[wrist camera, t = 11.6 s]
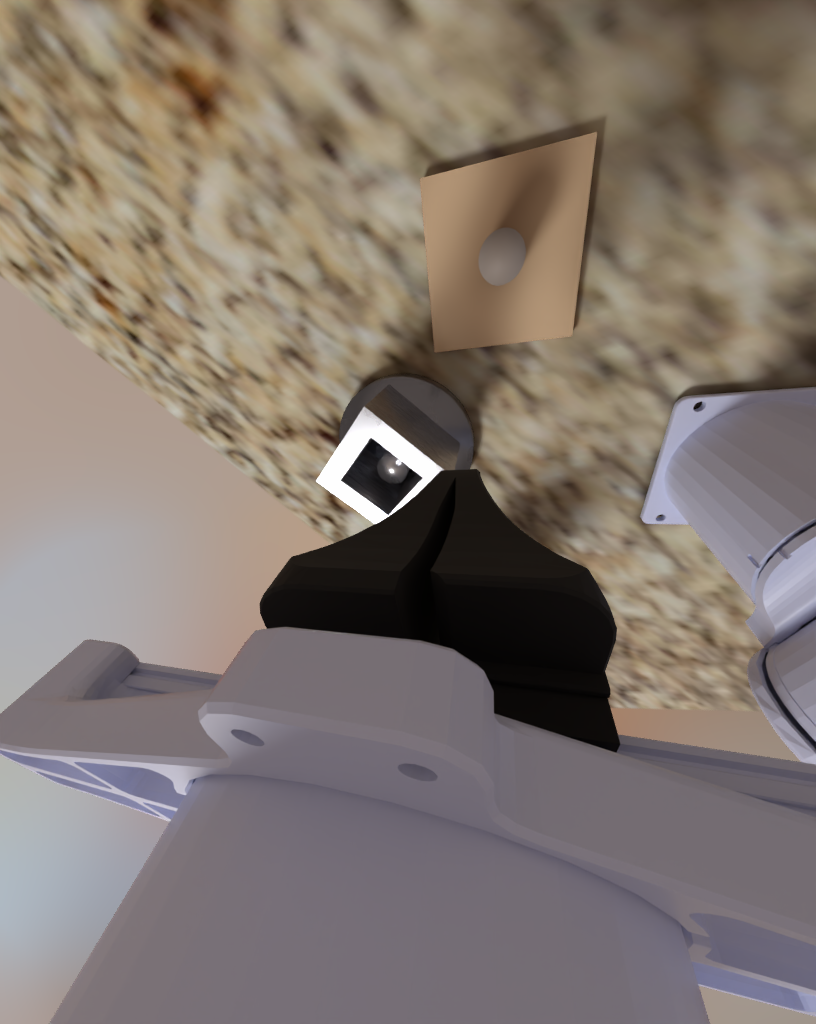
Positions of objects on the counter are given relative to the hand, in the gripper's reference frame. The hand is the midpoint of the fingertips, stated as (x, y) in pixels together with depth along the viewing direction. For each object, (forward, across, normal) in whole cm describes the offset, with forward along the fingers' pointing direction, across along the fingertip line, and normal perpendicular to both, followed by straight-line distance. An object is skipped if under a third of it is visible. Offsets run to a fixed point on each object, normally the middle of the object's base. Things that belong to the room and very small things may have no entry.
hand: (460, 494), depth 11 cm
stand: (+10, -2, -7) cm, 13 cm away
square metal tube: (+10, +5, +2) cm, 11 cm away
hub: (+10, +4, +2) cm, 12 cm away
